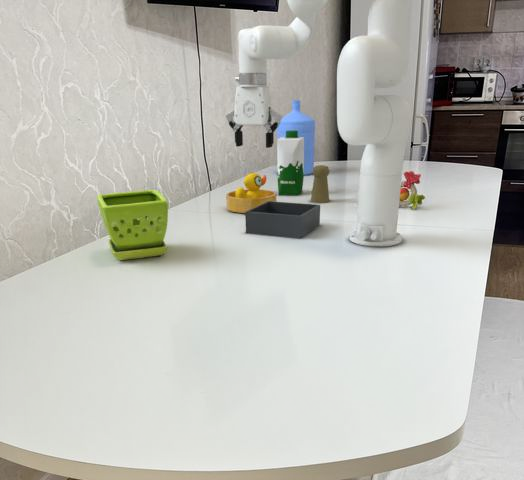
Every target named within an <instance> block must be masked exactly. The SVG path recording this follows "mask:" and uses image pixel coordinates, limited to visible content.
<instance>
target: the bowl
mask: <svg viewBox="0 0 524 480" xmlns="http://www.w3.org/2000/svg"><path fill="white" fill-rule="evenodd" d="M244 190H245V193H246V194H247V192H248V191H249V190H248V189H244ZM260 190H261V192H262V194H263V198H236V190H233V191H229V192H227V193H226V194H225V202H226V203H225V204H226V210H228V211H230V212H233V213H238V214H245V212H246V211H248V210H250V209H252V208H254V207H256V206H259V205H261V204H263V203H265V202H267V201H274V202H277V192H276V191H273V190H270V189H260Z"/></svg>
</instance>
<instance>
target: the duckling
mask: <svg viewBox="0 0 524 480" xmlns="http://www.w3.org/2000/svg"><path fill="white" fill-rule="evenodd" d="M266 182H267V176H266V175H265V174H264V175H262V176H261V175H260V174H258V173H255V172H251V173H249V174H247V175H246V177H244V179H243V185H244V187H245V188H244V187H242V186H240V187H237V188H236V190H235V191H236V198H263V194H262V192H261V190H262V189H261V187H262V186H264V185H265V184H266ZM245 190H249V191H248V192H247V194H246V193H245Z"/></svg>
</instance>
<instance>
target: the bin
mask: <svg viewBox="0 0 524 480" xmlns="http://www.w3.org/2000/svg"><path fill="white" fill-rule="evenodd" d="M244 217H245V220H244V221H245V234H249V235H250V234H251V235H261V236H270V237H271V236H272V237H280V238H281V237H282V238H292V239H303V238H304V237H306V236H307V235H308V234H309V233H311V232H312V231H314V230H315V229H317V228H318V227H320V225H321V220H320V219H321V204H316V203H314V204H313V203H300V202H299V203H298V202H287V201H286V202H285V201H276V202H274V201H267V202H265V203H263V204H261V205H259V206H256V207H254V208H252V209H250V210H248V211H246V212H245V213H244Z"/></svg>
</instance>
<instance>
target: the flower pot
mask: <svg viewBox="0 0 524 480" xmlns="http://www.w3.org/2000/svg"><path fill="white" fill-rule="evenodd" d="M96 198H97V203H98V207H99V212H100V215H101V219H102V222H103V224H104V227H105V229H106V231H107V234H108V236H109V239H108V240H107V241H108V245H109V247H110V248H109V249H110V251H111V252H112V254H113V257H115V258H116V259H117V260H119V261H125V260H134V259H143V258H150V257H161V256H162V255H163V254H164V253H165V252H166V251H167V250H168V245H167V244H166V242H165V241H164V240H165V237H166V233H167V229H168V228H167V227H168V221H169V204H168V200H167V198H166V197H165V196H164V195H163V194H162V193H161V192H160V191H158V190H156V189H147V190H134V191H124V192H123V191H121V192H112V193H104V194H97V197H96Z"/></svg>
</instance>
